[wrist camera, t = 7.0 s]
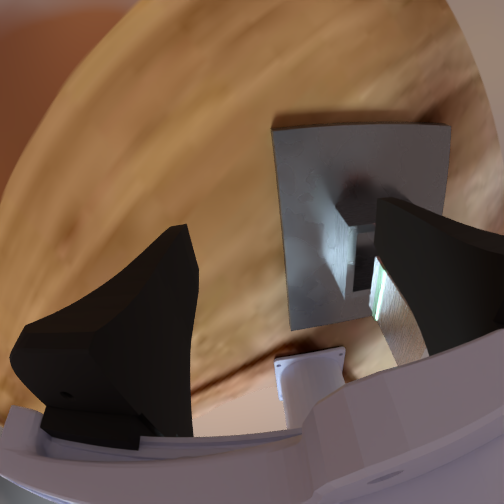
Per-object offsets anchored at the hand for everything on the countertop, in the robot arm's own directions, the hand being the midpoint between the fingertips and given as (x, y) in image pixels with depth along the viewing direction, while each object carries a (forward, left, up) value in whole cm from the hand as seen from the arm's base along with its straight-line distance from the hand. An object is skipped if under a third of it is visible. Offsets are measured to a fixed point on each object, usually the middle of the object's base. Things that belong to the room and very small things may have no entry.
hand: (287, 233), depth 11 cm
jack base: (-7, -8, -10) cm, 15 cm away
